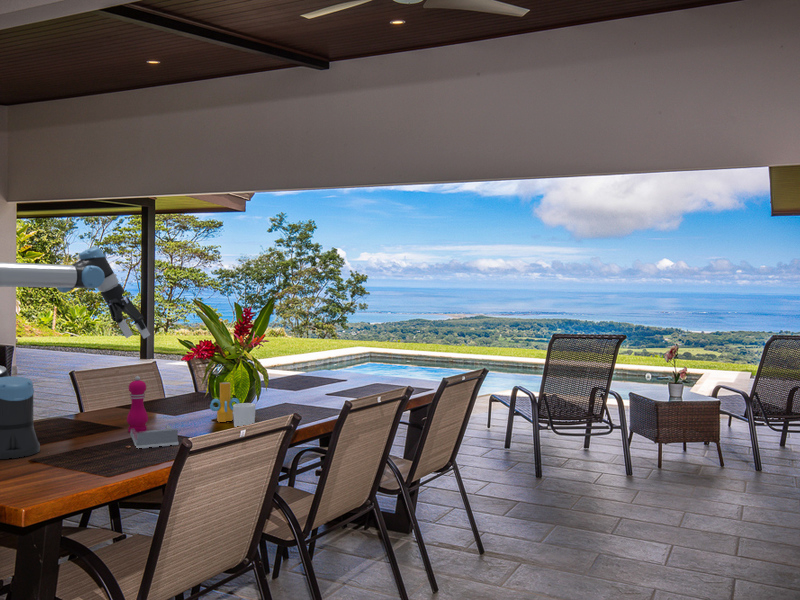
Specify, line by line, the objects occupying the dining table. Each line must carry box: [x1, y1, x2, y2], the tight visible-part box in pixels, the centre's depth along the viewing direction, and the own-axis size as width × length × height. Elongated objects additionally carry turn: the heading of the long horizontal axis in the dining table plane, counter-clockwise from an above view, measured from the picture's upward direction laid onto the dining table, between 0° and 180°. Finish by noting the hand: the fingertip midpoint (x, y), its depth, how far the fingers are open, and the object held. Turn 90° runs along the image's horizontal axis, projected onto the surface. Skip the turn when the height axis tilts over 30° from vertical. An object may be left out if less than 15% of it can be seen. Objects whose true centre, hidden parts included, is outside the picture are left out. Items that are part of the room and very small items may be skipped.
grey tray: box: [129, 424, 179, 450], centre depth 228 cm, size 22×13×5 cm, turn 27°
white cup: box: [232, 402, 256, 427], centre depth 240 cm, size 8×8×10 cm
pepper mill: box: [126, 375, 149, 433], centre depth 241 cm, size 7×7×20 cm
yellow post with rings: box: [209, 381, 240, 423], centre depth 259 cm, size 12×10×15 cm
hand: (138, 336), depth 251 cm, fingers open, 13 cm apart
